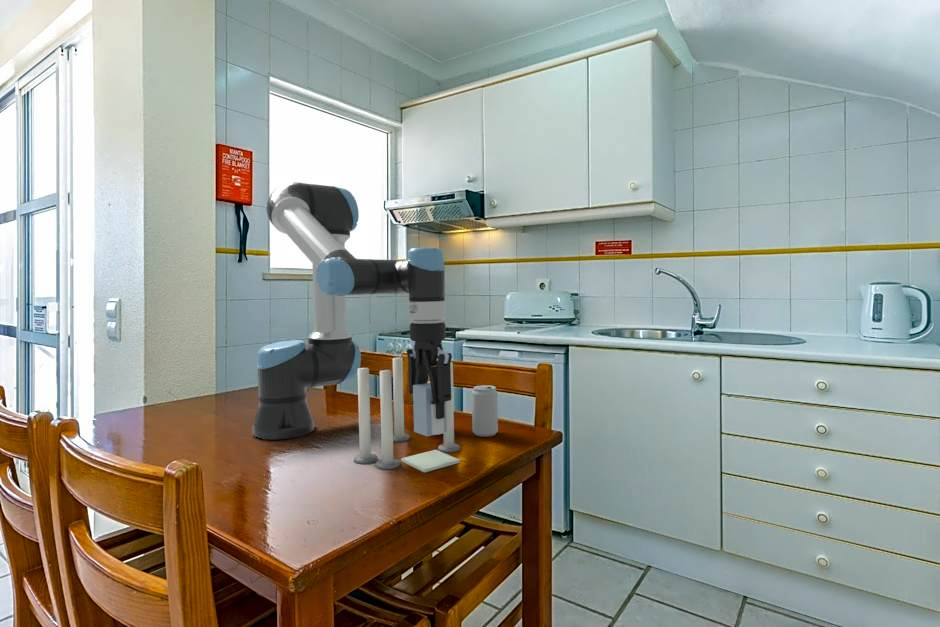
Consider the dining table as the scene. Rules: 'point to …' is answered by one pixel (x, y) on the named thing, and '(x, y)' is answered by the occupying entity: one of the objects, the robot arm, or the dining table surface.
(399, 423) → the gate posts
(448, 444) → the gate posts
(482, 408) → the beverage can
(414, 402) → the block
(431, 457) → the pad
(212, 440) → the dining table surface
